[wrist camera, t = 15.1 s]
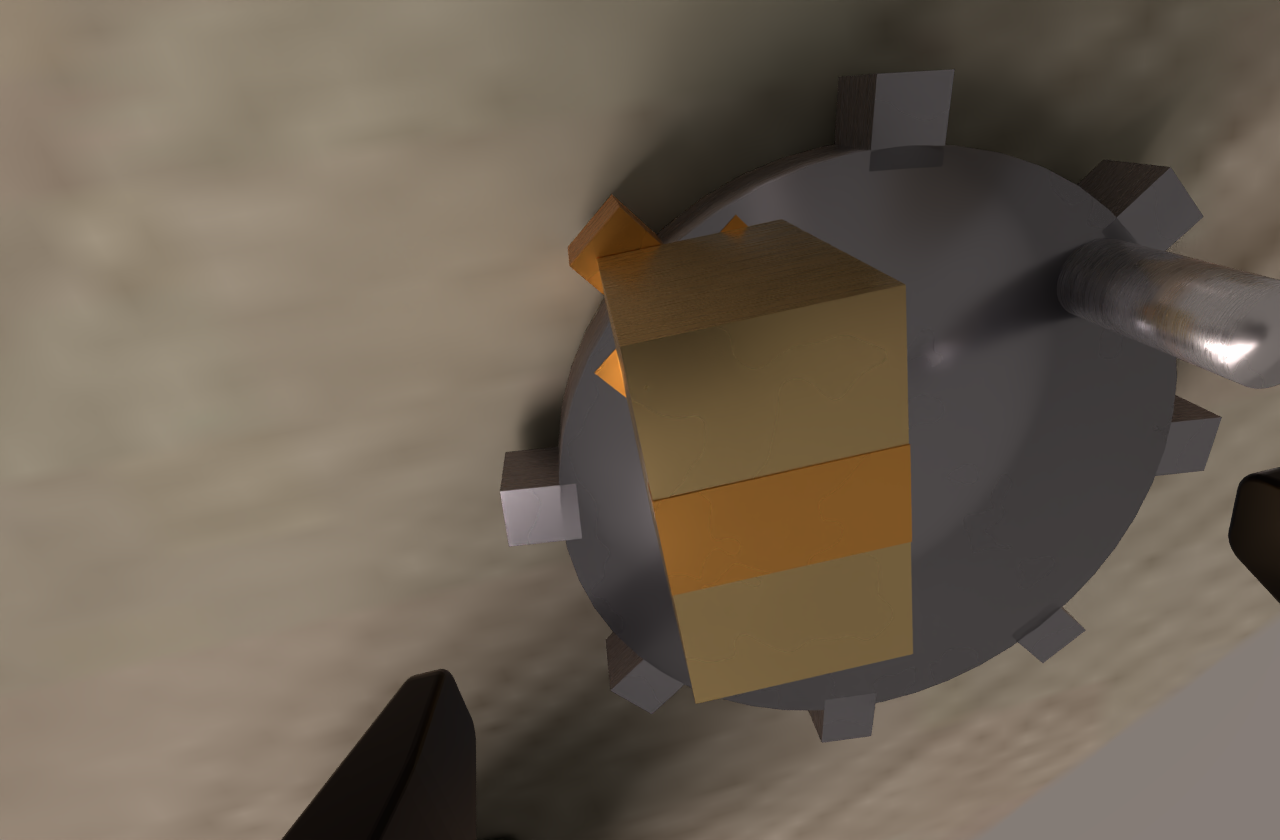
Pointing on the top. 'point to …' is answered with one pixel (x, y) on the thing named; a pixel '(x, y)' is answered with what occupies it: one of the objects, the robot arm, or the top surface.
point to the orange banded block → (771, 449)
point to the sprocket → (935, 388)
